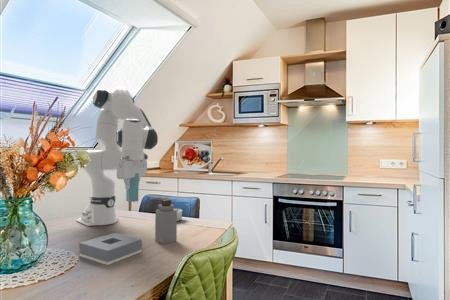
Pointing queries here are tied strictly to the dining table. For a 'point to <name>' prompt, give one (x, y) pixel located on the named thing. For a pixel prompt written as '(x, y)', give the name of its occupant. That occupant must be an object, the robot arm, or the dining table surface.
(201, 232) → the dining table surface
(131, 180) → the peg
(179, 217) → the saucepan
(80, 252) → the socket block
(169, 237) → the perfume bottle
